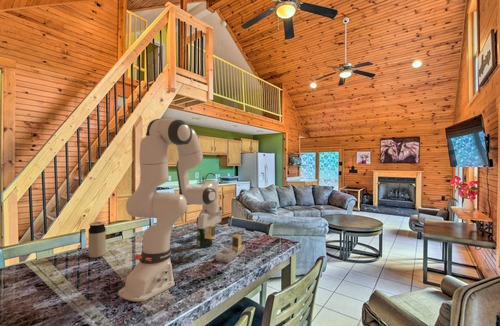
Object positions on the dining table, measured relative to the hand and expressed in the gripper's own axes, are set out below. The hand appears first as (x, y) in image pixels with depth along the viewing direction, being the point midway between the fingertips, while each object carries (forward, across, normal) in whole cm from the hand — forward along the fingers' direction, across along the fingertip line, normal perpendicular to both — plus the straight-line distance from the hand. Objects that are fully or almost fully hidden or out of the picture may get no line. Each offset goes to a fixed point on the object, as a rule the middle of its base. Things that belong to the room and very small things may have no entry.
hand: (209, 233), depth 136 cm
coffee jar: (+12, +13, +12) cm, 22 cm away
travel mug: (+13, -23, +58) cm, 64 cm away
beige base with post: (+12, +7, -10) cm, 17 cm away
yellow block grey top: (+2, 0, 0) cm, 2 cm away
